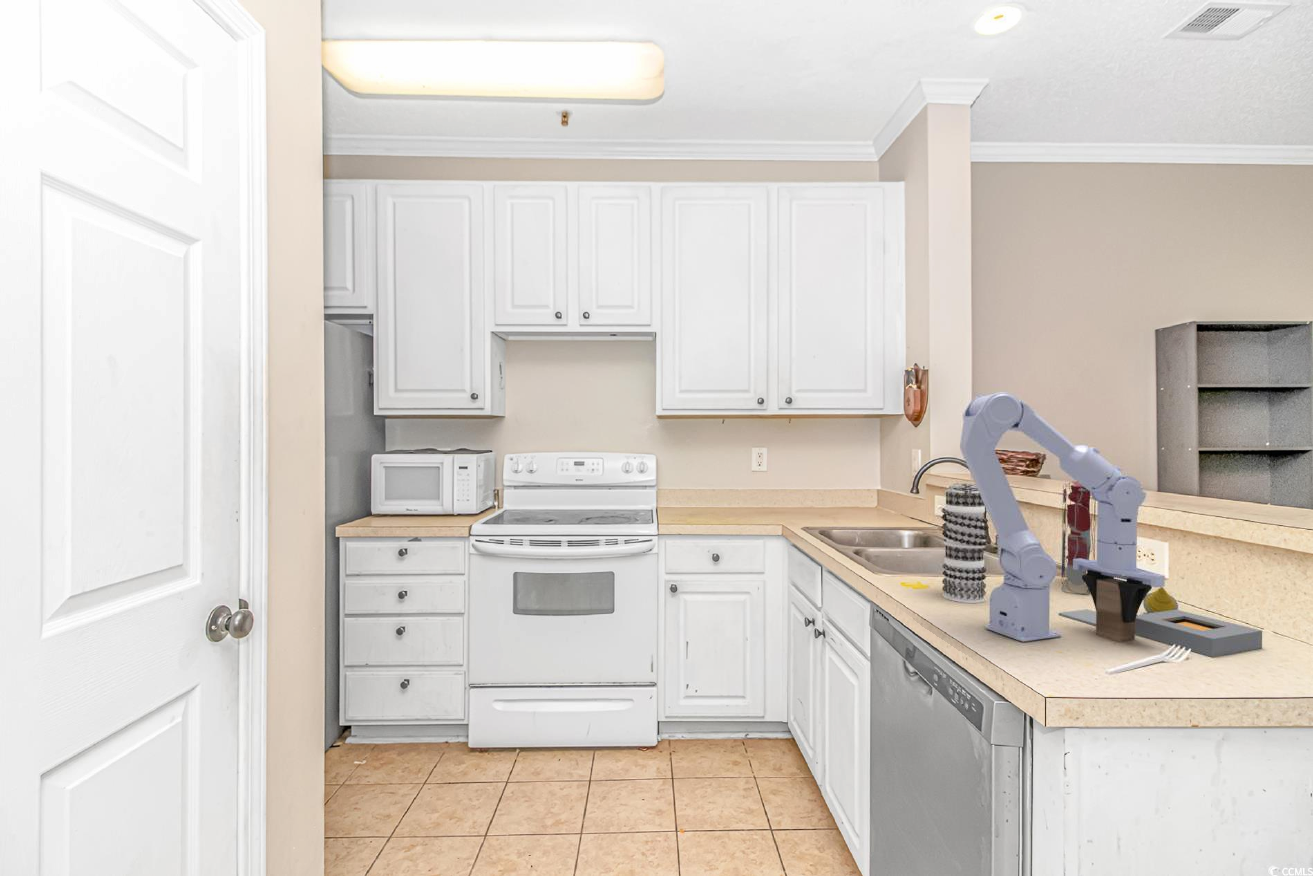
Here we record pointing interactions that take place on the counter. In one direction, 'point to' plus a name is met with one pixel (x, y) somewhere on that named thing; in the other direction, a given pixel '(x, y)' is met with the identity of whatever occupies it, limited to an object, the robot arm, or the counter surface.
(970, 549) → the decorative candle
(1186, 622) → the button
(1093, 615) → the flat gray square panel
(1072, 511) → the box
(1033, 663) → the counter surface
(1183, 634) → the gray square frame
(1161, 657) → the fork
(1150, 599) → the drill bit
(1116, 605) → the wooden rectangular post
